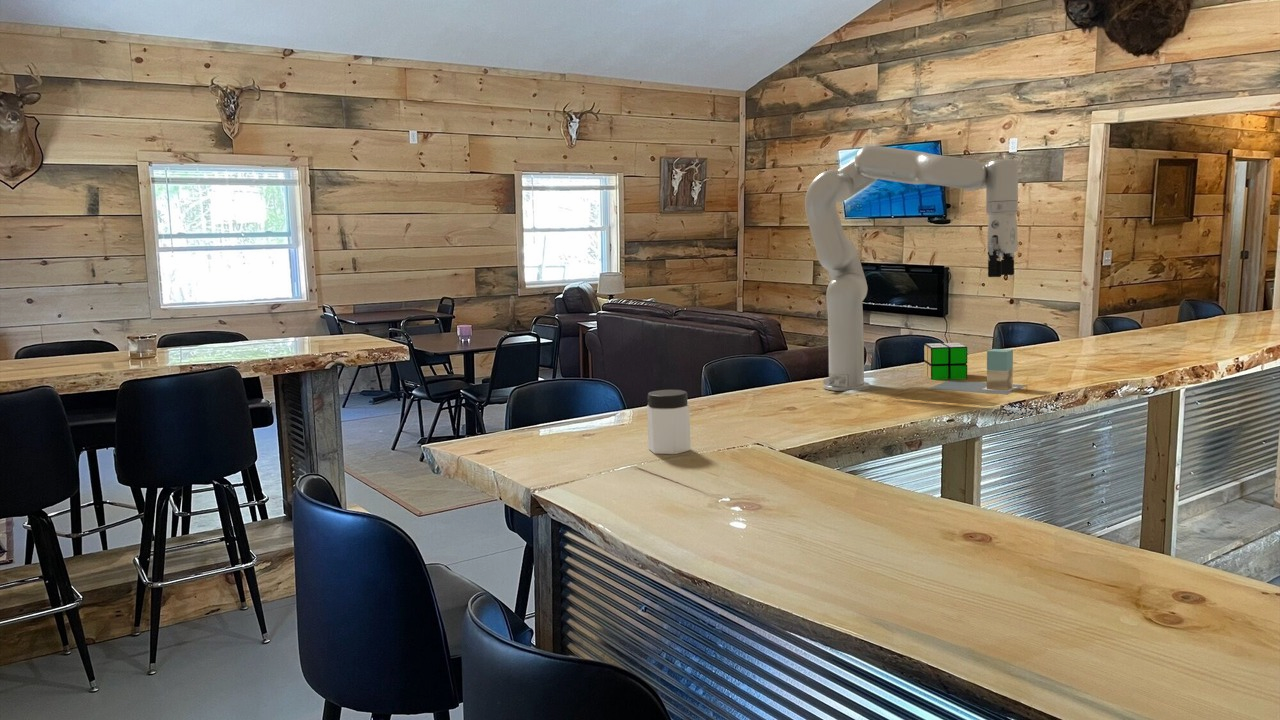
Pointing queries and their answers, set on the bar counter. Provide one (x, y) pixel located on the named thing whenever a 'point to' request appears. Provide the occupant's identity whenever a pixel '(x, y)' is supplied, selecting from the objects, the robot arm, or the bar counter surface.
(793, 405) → the bar counter surface
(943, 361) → the puzzle cube
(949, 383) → the slate board
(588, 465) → the bar counter surface
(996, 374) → the maple block
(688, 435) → the jar
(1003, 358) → the teal block
